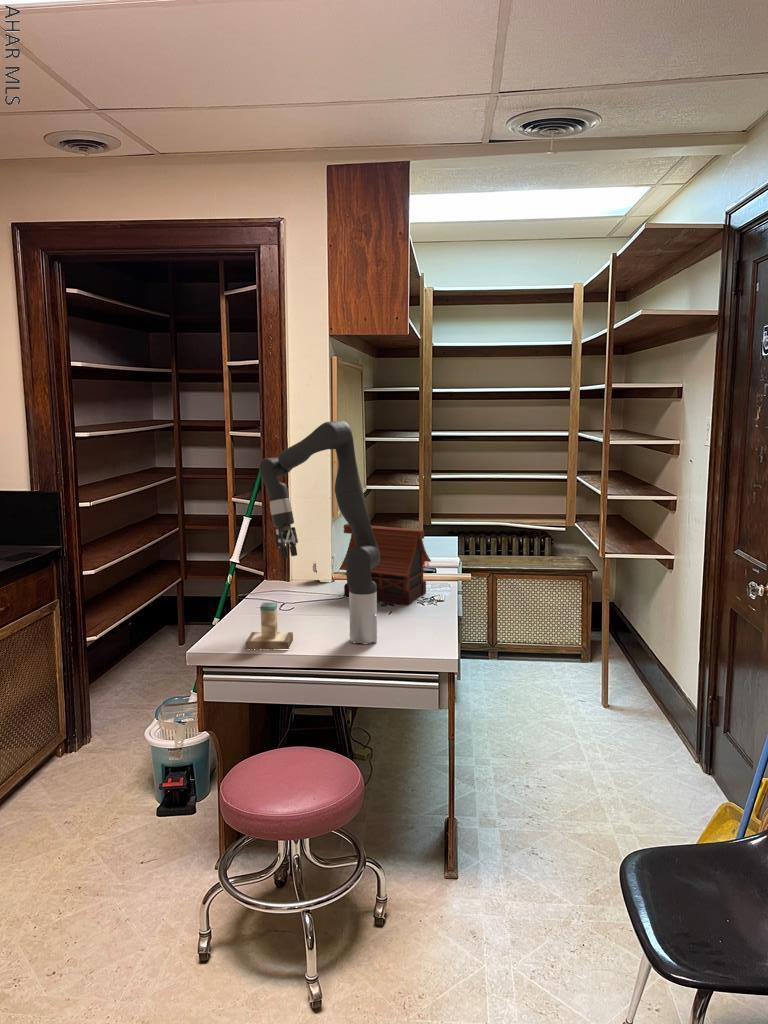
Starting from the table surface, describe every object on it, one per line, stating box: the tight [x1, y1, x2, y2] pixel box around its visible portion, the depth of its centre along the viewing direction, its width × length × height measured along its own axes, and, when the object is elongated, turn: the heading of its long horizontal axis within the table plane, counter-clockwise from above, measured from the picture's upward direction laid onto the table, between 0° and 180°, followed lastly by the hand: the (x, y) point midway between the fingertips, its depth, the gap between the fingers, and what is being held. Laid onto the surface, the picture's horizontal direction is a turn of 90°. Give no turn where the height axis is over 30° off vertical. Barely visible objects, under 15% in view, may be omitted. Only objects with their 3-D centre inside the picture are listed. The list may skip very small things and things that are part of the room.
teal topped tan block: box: [259, 602, 278, 639], centre depth 241 cm, size 5×5×11 cm
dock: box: [245, 631, 294, 651], centre depth 242 cm, size 14×10×3 cm
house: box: [339, 523, 432, 606], centre depth 301 cm, size 35×28×29 cm
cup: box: [312, 553, 336, 574], centre depth 326 cm, size 10×9×12 cm
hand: (289, 556), depth 259 cm, fingers open, 8 cm apart
